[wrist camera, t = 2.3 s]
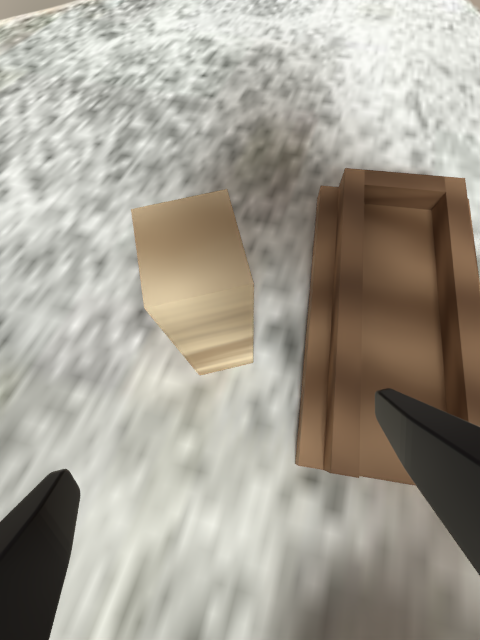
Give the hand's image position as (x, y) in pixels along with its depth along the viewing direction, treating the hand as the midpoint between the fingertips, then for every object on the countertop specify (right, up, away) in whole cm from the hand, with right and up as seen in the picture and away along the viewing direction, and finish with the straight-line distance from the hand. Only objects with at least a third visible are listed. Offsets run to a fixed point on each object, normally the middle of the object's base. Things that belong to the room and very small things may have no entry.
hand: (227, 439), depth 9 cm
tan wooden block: (-1, +2, +15) cm, 15 cm away
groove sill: (+12, +3, +15) cm, 19 cm away
